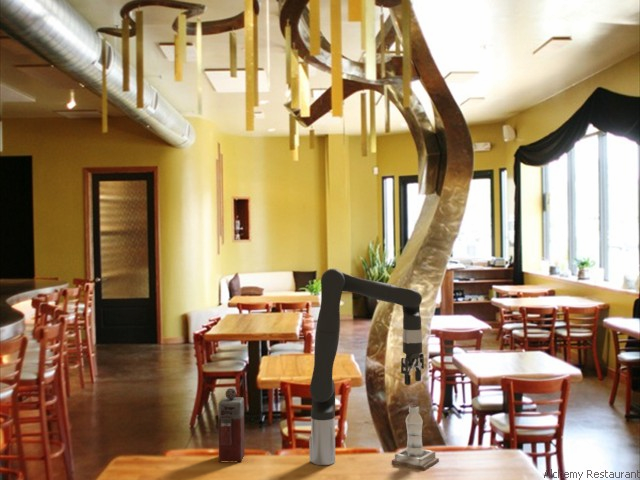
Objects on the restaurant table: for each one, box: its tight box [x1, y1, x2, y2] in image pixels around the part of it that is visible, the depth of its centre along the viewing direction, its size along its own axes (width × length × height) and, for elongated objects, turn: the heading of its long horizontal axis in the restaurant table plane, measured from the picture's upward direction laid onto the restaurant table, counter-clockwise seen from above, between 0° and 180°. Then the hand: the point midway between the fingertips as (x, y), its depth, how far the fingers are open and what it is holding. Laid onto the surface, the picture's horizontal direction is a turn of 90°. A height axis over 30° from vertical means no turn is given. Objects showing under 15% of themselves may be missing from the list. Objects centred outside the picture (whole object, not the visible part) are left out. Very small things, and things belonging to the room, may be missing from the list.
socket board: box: [391, 447, 440, 471], centre depth 244 cm, size 14×12×4 cm
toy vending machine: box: [217, 387, 245, 462], centre depth 251 cm, size 9×11×28 cm
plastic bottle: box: [405, 405, 424, 458], centre depth 244 cm, size 6×7×20 cm
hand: (412, 382), depth 245 cm, fingers open, 8 cm apart
